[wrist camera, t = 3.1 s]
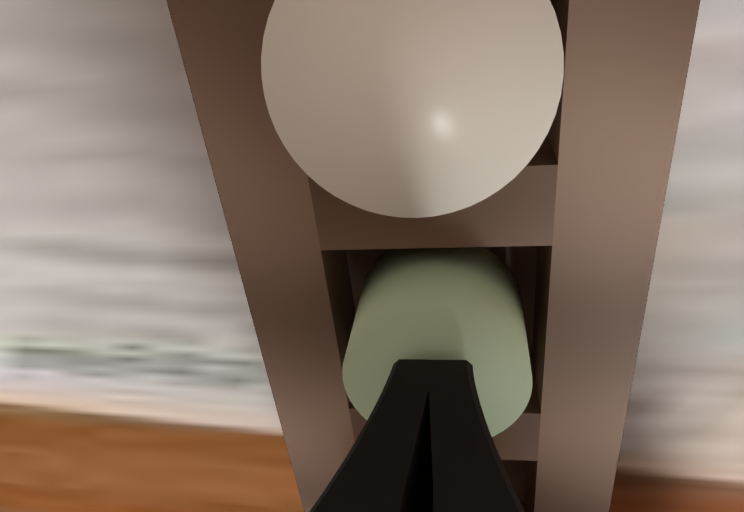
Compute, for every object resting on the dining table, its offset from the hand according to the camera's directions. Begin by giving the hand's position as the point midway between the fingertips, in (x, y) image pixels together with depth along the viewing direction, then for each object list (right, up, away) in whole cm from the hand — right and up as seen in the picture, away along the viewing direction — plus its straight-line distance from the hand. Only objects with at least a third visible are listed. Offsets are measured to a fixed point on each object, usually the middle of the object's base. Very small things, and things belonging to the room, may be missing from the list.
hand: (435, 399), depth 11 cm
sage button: (0, +2, +2) cm, 3 cm away
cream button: (0, +6, -2) cm, 6 cm away
